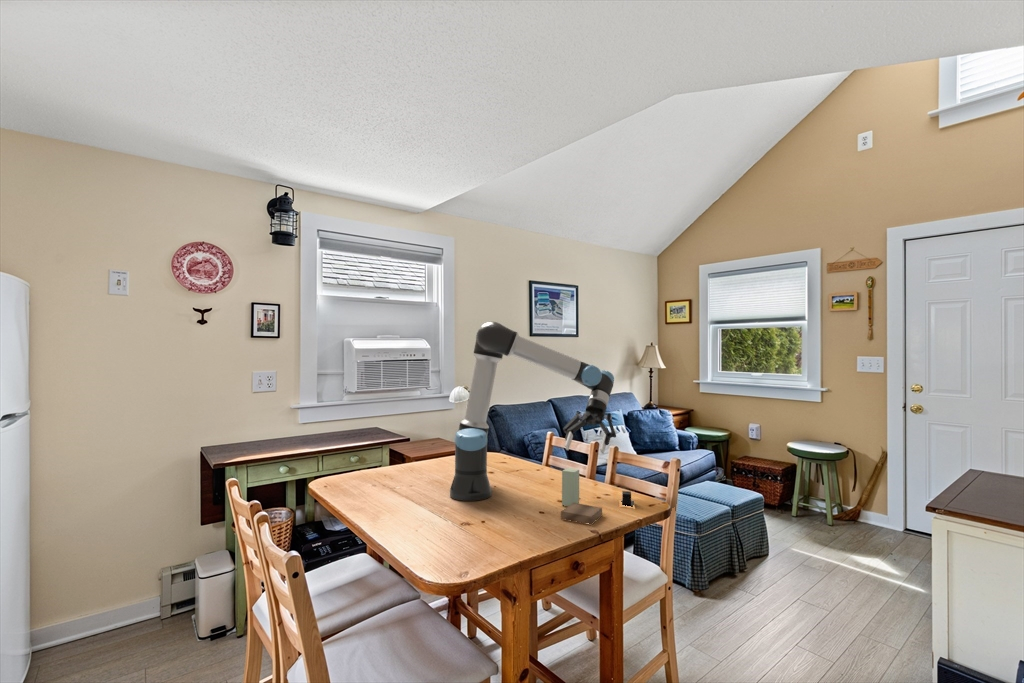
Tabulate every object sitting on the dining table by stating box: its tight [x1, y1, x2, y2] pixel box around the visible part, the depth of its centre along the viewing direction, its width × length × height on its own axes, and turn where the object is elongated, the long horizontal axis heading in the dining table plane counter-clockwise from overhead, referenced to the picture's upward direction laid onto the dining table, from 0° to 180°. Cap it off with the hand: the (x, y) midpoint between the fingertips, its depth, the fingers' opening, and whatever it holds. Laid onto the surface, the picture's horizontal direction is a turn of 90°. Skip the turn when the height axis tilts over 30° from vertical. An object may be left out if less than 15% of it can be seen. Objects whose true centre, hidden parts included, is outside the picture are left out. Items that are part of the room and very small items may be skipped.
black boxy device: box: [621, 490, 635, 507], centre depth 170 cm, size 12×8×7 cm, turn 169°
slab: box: [560, 503, 603, 525], centre depth 156 cm, size 10×10×3 cm
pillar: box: [561, 467, 580, 507], centre depth 169 cm, size 4×4×12 cm
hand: (583, 449), depth 179 cm, fingers open, 13 cm apart
